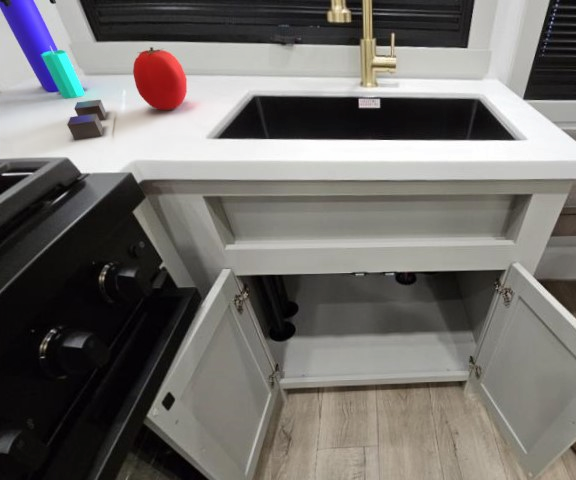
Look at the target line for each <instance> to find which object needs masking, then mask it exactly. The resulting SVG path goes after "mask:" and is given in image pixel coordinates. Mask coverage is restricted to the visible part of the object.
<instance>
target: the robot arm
mask: <svg viewBox="0 0 576 480" xmlns="http://www.w3.org/2000/svg"><path fill="white" fill-rule="evenodd" d="M0 1H1V2H3V3H4V5H5V6H6V7H8V6H11V5H12V4H11V2H10V0H0ZM49 2H50V4H52V5H54V4H57V1H56V0H49Z"/></svg>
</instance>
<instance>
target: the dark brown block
mask: <svg viewBox="0 0 576 480" xmlns="http://www.w3.org/2000/svg"><path fill="white" fill-rule="evenodd" d="M73 109H74V111H75V114H76V116H82V115H90V114H97V115H98V118H99V120H100V121H105V120H106V118H107V111H106V108H105V107H104V104H103V102H102V99H95V100H94V99H93V100H84V101H77V102H76V103H75V105H74V108H73Z"/></svg>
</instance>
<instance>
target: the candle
mask: <svg viewBox="0 0 576 480" xmlns="http://www.w3.org/2000/svg"><path fill="white" fill-rule="evenodd" d="M50 48H51V46H50ZM51 50H52V48H51ZM41 56H42V58H43V60H44V62H45V64H46V66H47V68H48V70H49V72H50V74H51V76H52V78H53V80H54V82H55V84H56V86H57V88H58V90H59V91H58V92H59V93H60V95H61V97H62V99H73V98H74V99H75V98H80V97H82V96H84V95H86V92H85V91H84V88H83V86H82V84H81V81H80V80H79V77H78V75H77V73H76V71H75V69H74V66H73V64H72V62H71V60H70V58H69V55H68V53H67V51H66V50H63V49H58V51H53V50H52V51H48V52H44V53H43V54H42V55H41Z"/></svg>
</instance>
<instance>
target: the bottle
mask: <svg viewBox="0 0 576 480" xmlns="http://www.w3.org/2000/svg"><path fill="white" fill-rule="evenodd" d="M10 2H11V4H12V5H11V6H8V7H6V6H5V5H4V3H3V2H1V1H0V10H1V13H2V14H3V15H2V16H3V17H4V19H5V21H6V22H7V24H8V26H9V28H10V30H11V32H12V33H13V35H14V38H15V40H16V42H17V43H18V45H19V47H20V49H21V51H22V52H23V54H24V56H25V59H26V60H27V62H28V64H29V65H30V67H31V69H32V71H33V73H34V74H35V77H36V78H37V80H38V82H39V83H40V85H41V87H42V88H43V90H44V91H45V92H47V93H48V92H49V93H57V92H59V90H58V88H57V86H56V84H55V82H54V80H53V78H52V76H51V74H50V72H49V70H48V68H47V66H46V64H45V62H44V60H43V58H42V56H41V55H42V54H43V53H44V52H48V51H52V50H53V51H58V50H59V49H58V47H57V45H56V43H55V41H54V39H53V37H52V34H51V32H50V31H49V30H50V29H49V28H48V27H47V25H46V22H45V20H44V18H43V16H42V14H41V12H40V10H39V8H38V6H37V3H36V2H35V0H10ZM50 46H51V48H52V50H51V48H50Z"/></svg>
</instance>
